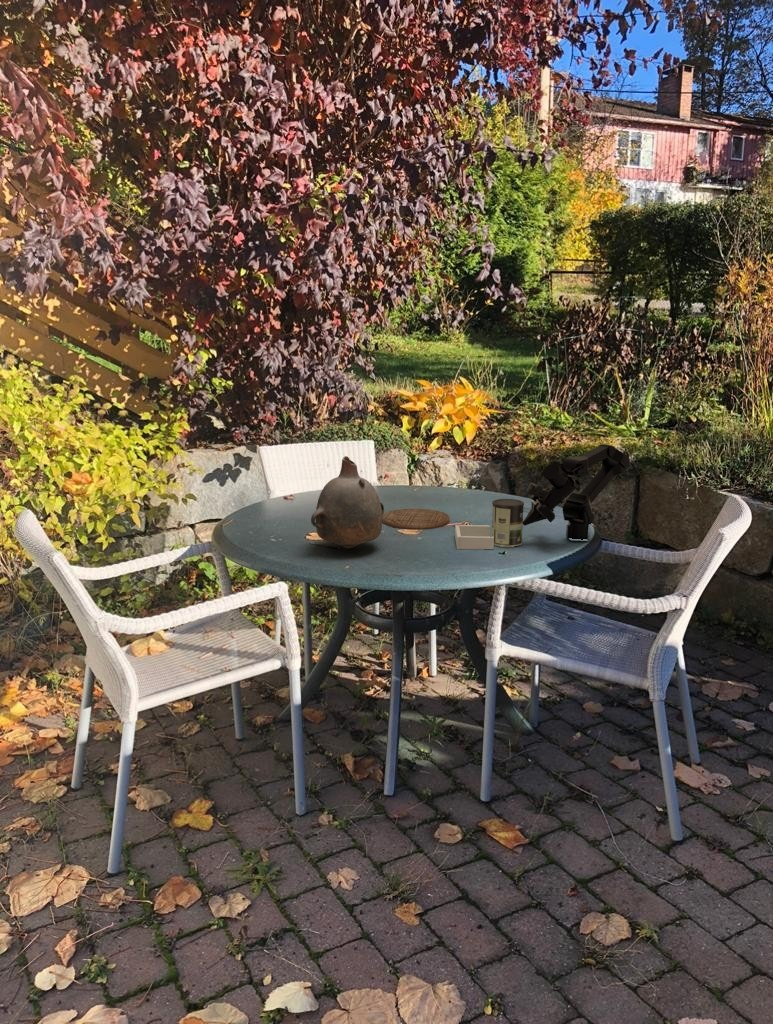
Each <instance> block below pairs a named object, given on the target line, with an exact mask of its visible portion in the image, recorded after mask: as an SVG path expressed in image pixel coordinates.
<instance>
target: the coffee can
mask: <svg viewBox="0 0 773 1024" xmlns="http://www.w3.org/2000/svg"><path fill="white" fill-rule="evenodd" d="M491 502H492V514H491V515H492V516H491V519H492V520H491V537H494V546H495V547H499V546H500V548H515V547H514V546H518V545H521V544H522V545H523V528H524V527H523V526H524V525H523V521H524V506H525V501H522V500H519V499H515V498H514V499H513V498H497V499H494V500H492V501H491ZM522 545H521V546H522ZM518 547H519V546H518Z"/></svg>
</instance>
